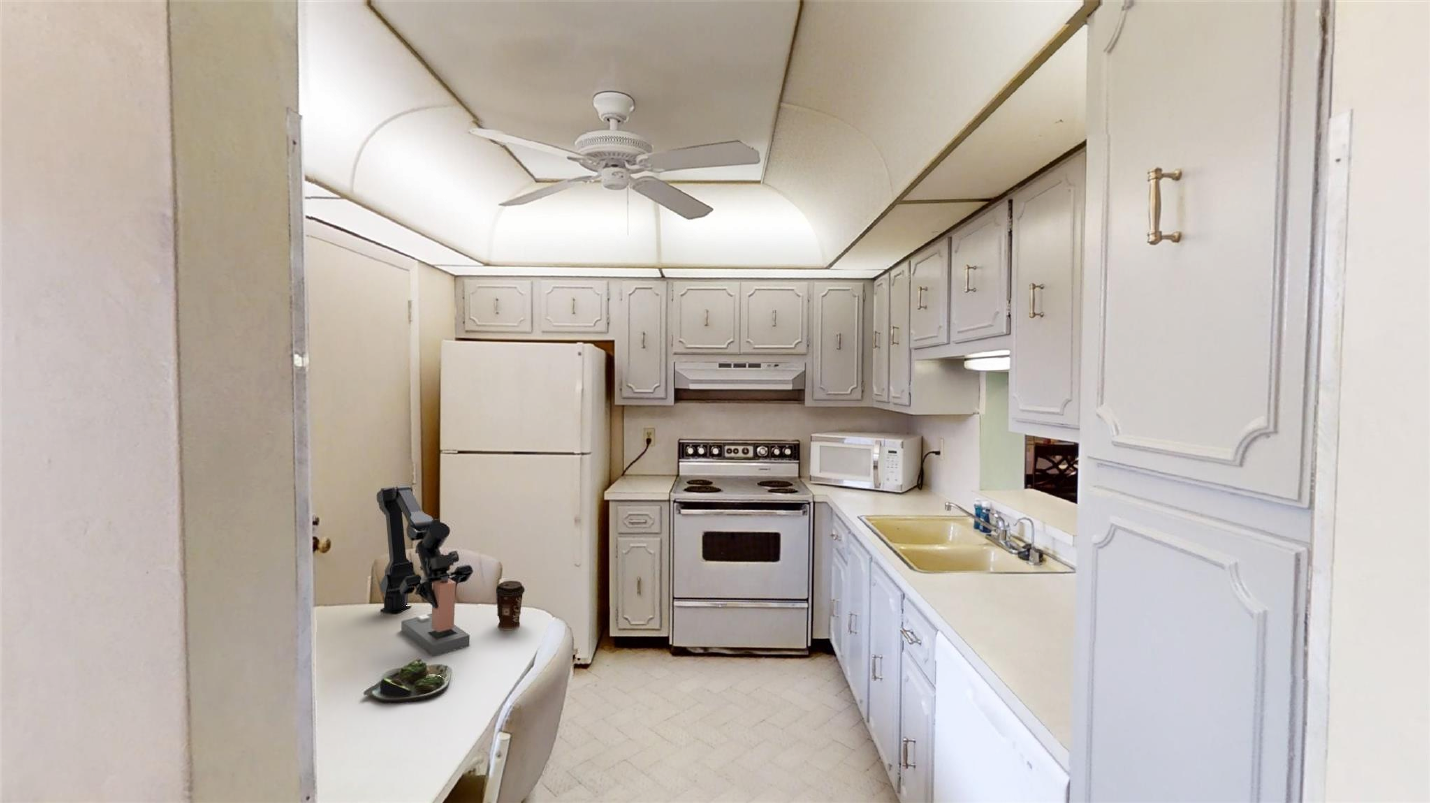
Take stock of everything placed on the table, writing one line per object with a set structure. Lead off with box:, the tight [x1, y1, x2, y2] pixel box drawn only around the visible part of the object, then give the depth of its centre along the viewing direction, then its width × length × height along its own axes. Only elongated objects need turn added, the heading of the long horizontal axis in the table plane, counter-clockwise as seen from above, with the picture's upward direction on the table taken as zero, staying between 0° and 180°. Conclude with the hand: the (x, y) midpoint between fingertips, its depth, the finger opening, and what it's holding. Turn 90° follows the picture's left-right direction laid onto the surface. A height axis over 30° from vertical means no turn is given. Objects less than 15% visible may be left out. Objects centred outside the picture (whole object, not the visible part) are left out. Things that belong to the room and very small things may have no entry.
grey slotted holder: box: [400, 613, 471, 657], centre depth 169 cm, size 22×10×4 cm, turn 48°
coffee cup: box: [495, 580, 526, 631], centre depth 180 cm, size 9×8×13 cm
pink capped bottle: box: [431, 576, 457, 632], centre depth 166 cm, size 4×4×14 cm
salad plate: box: [363, 658, 453, 704], centre depth 144 cm, size 19×18×5 cm
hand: (445, 605), depth 165 cm, fingers closed on pink capped bottle, 4 cm apart
